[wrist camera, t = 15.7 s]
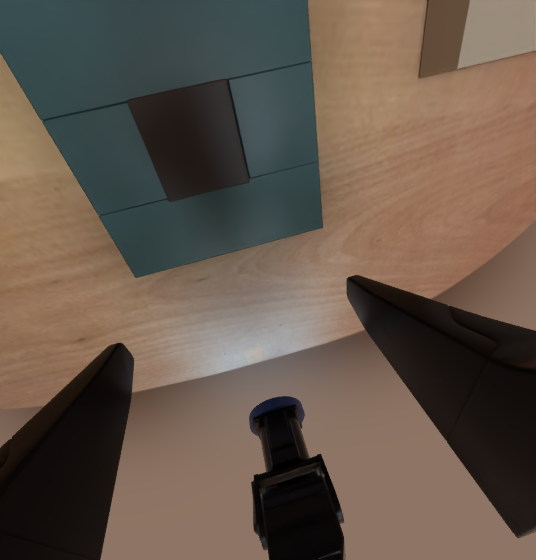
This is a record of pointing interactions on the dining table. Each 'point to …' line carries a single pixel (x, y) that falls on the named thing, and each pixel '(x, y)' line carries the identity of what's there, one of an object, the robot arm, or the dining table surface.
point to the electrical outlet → (475, 33)
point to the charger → (192, 138)
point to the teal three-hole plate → (163, 77)
